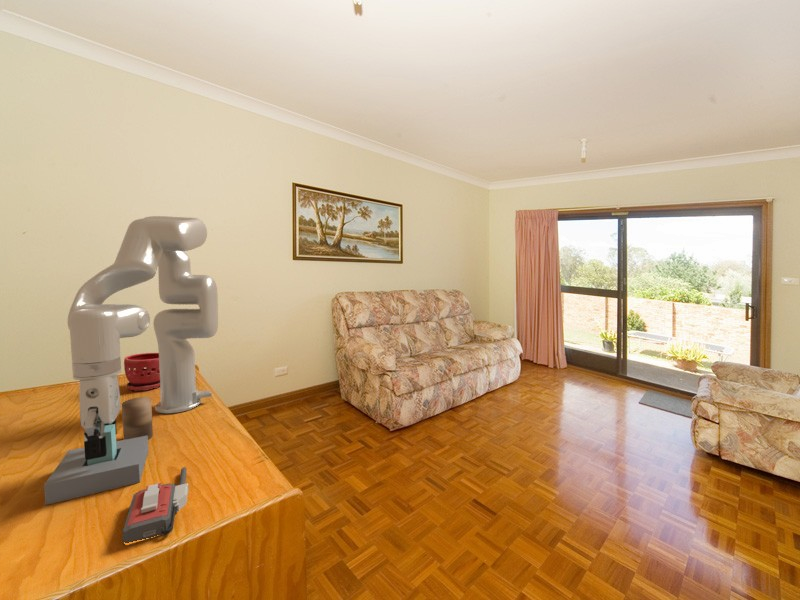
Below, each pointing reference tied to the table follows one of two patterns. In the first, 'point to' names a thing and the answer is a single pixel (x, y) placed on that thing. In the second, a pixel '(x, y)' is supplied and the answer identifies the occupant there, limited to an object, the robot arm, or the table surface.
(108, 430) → the square peg
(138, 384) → the plant pot
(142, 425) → the round plug
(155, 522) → the walkie-talkie
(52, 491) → the socket block
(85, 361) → the robot arm
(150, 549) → the table surface
